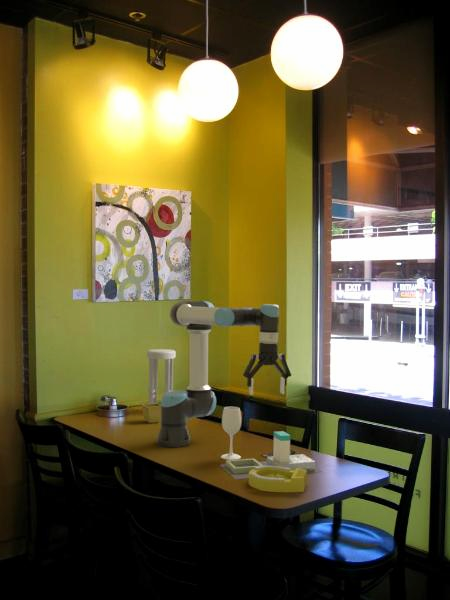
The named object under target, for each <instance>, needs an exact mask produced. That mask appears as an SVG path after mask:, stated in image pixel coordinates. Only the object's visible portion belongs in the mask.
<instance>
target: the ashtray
mask: <svg viewBox="0 0 450 600" xmlns="http://www.w3.org/2000/svg"><path fill="white" fill-rule="evenodd" d="M307 476H308V473H307V471H306V470H303V469H300V468H296V469H295V471H294V470H291V469H290V468H286V467H280V466H270V465H267V466H258V467H255V469H252V470H251V471H250V472H249V478H248V485H249V486H250V487H252V488H254V489H255V490H257V491H262V492H271V493H302V492H304V491H305V489H306V486H307V484H308V483H307V480H308V477H307Z"/></svg>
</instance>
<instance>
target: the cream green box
mask: <svg viewBox="0 0 450 600" xmlns="http://www.w3.org/2000/svg"><path fill="white" fill-rule="evenodd" d="M290 450H291V434H289V433H287V432H285V431H283V430H281V431H280V430H279V431H277V430H276V431H273V452H272V453H273V460H275V461H276V462H277V463H279V464H280V463H290Z"/></svg>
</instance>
